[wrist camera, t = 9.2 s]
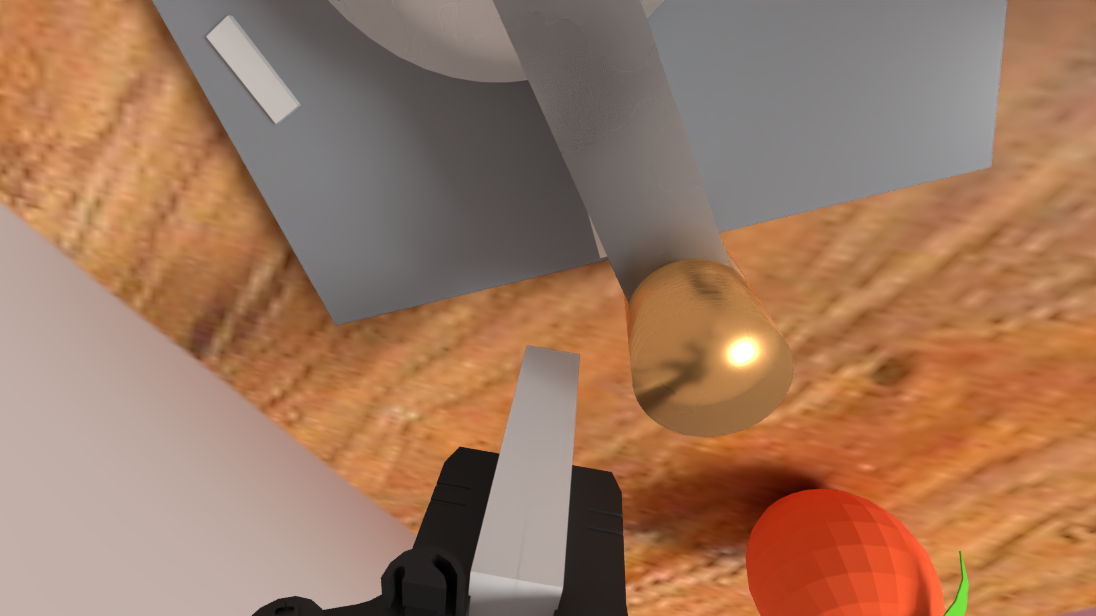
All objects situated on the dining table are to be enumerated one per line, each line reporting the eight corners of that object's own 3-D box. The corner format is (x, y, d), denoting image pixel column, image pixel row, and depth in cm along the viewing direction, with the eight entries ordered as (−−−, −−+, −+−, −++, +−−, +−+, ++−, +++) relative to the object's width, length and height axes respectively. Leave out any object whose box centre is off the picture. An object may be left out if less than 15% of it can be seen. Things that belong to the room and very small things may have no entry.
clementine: (843, 414, 20) (951, 577, 14) (940, 498, 22) (1075, 676, 16) (698, 507, 24) (734, 672, 17) (791, 573, 25) (854, 746, 19)
